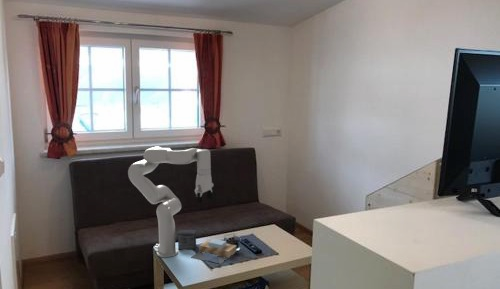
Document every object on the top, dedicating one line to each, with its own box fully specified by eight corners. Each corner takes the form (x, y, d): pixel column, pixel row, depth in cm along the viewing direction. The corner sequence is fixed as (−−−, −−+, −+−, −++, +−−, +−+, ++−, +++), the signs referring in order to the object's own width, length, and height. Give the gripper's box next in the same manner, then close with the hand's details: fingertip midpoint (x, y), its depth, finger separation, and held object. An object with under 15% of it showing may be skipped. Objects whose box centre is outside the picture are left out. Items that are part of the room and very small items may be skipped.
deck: (199, 251, 235) (199, 245, 235) (208, 245, 244) (207, 239, 244) (228, 258, 227) (228, 251, 226) (236, 251, 236) (236, 245, 235)
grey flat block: (208, 246, 234) (208, 242, 233) (213, 242, 239) (213, 238, 239) (221, 248, 230) (221, 244, 229) (226, 245, 235) (226, 241, 235)
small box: (196, 245, 245) (196, 229, 243) (195, 249, 238) (195, 233, 237) (179, 245, 244) (179, 229, 243) (178, 250, 238) (177, 233, 236)
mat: (190, 257, 227) (190, 257, 227) (199, 251, 235) (199, 251, 235) (220, 264, 219) (220, 263, 219) (228, 258, 227) (228, 257, 227)
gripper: (207, 168, 227) (207, 196, 230) (189, 173, 212) (190, 204, 215) (217, 169, 224) (218, 198, 226) (200, 175, 209) (201, 206, 211)
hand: (204, 201), depth 220 cm, fingers open, 9 cm apart
